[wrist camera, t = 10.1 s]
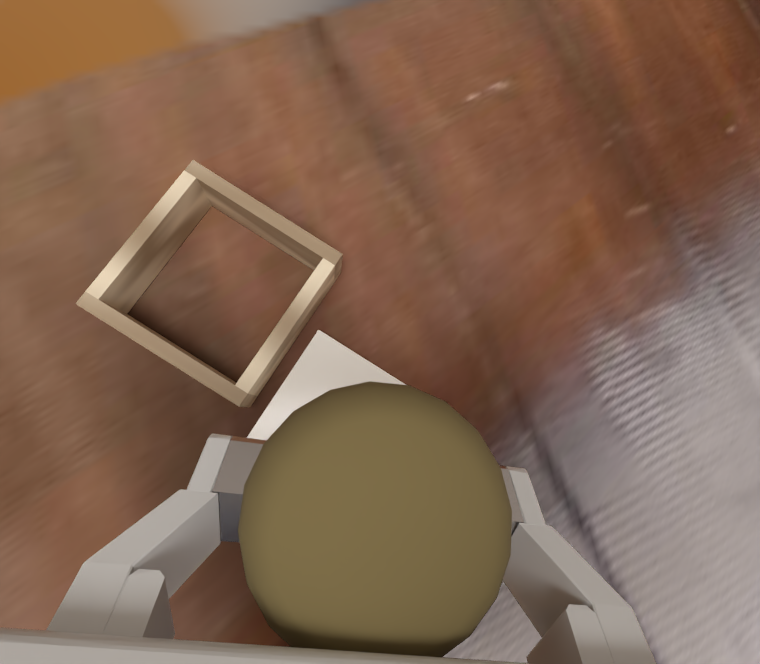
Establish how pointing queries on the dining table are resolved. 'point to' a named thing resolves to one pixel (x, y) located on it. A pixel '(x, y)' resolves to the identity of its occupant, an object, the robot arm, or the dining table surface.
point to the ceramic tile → (317, 380)
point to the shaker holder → (162, 240)
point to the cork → (375, 524)
